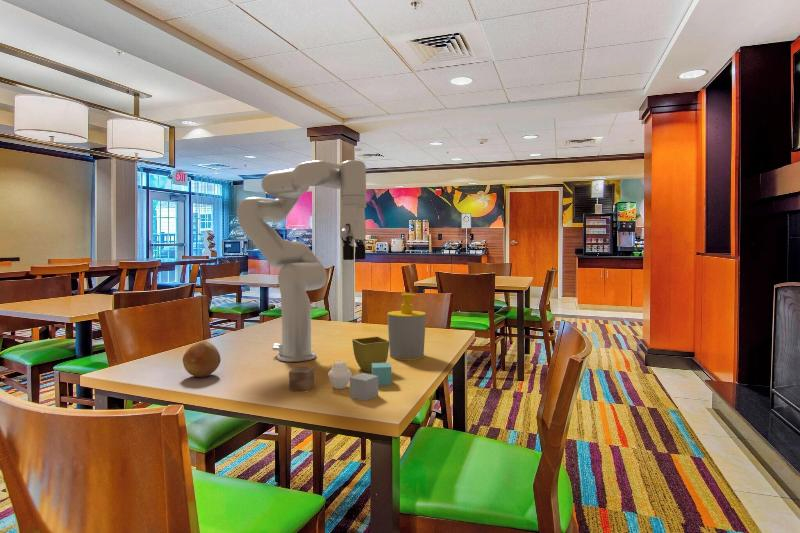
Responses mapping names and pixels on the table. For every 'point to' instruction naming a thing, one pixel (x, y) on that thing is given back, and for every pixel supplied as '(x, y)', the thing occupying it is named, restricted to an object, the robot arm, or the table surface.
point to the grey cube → (363, 386)
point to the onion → (201, 359)
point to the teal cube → (382, 373)
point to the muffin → (339, 375)
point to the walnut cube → (301, 379)
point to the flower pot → (370, 351)
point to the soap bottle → (406, 331)
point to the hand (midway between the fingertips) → (354, 259)
